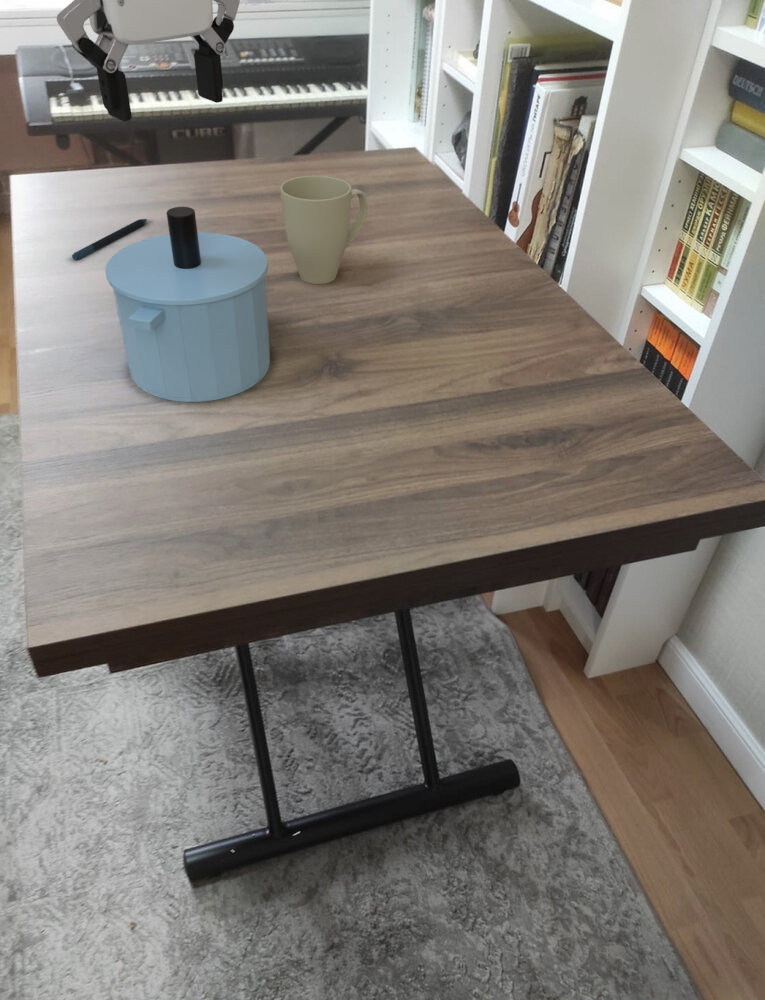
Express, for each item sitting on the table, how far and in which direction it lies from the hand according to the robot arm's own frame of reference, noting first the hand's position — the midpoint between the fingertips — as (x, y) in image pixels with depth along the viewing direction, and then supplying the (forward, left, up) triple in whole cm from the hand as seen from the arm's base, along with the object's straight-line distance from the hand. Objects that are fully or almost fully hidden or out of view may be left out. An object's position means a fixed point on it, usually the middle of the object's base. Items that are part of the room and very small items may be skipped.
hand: (166, 108), depth 77 cm
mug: (+5, +27, -28) cm, 39 cm away
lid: (0, 0, -16) cm, 16 cm away
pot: (0, 0, -27) cm, 27 cm away
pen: (-28, +27, -28) cm, 47 cm away
